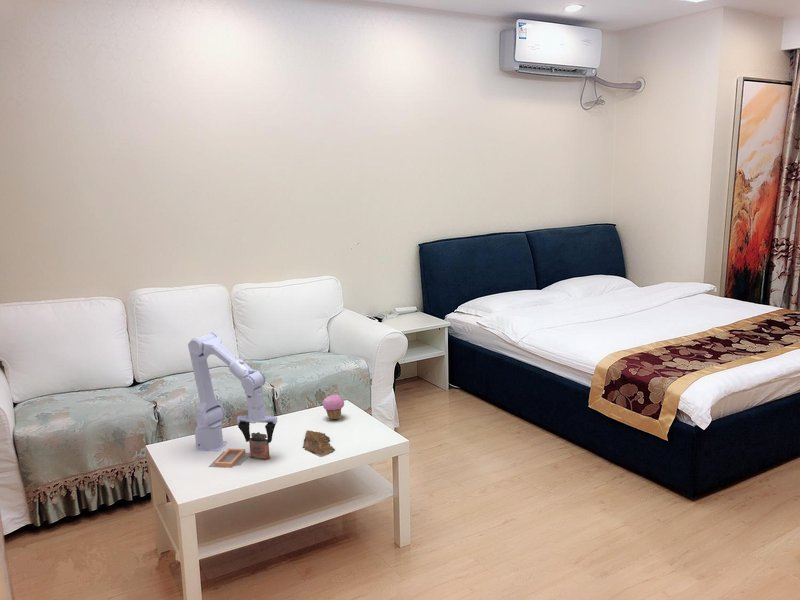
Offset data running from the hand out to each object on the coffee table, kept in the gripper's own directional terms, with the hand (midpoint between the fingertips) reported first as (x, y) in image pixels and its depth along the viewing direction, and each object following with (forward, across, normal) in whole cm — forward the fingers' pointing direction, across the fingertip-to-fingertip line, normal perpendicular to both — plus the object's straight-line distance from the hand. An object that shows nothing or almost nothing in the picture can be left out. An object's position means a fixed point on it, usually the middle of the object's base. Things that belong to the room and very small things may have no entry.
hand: (259, 441), depth 220 cm
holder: (+7, -10, -3) cm, 13 cm away
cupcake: (+7, +17, +39) cm, 43 cm away
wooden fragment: (+8, +20, +16) cm, 28 cm away
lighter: (+7, 0, 0) cm, 7 cm away
